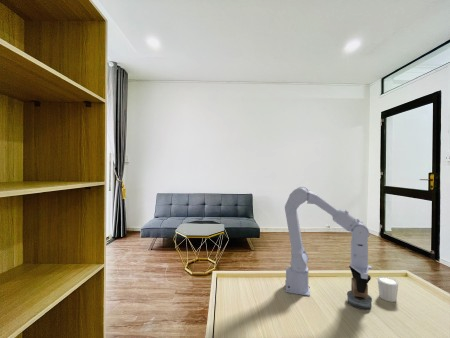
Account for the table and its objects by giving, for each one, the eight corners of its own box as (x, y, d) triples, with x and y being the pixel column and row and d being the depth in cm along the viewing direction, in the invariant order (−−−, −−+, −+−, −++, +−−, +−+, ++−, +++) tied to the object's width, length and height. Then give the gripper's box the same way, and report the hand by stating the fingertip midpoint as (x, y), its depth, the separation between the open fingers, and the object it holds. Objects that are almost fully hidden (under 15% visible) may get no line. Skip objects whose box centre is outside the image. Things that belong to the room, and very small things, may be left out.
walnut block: (354, 296, 86) (354, 282, 86) (351, 290, 90) (351, 277, 90) (367, 298, 84) (367, 284, 84) (364, 291, 89) (364, 279, 89)
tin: (349, 307, 85) (348, 300, 85) (345, 296, 92) (345, 288, 92) (374, 312, 82) (374, 304, 82) (368, 299, 90) (368, 292, 90)
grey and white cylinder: (402, 303, 87) (402, 285, 87) (382, 301, 88) (382, 283, 88) (392, 294, 94) (392, 277, 94) (374, 292, 95) (374, 275, 95)
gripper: (377, 262, 79) (377, 301, 79) (365, 248, 93) (365, 281, 93) (354, 260, 81) (354, 297, 81) (346, 246, 95) (346, 278, 95)
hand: (359, 288), depth 87 cm, fingers closed on walnut block, 4 cm apart
